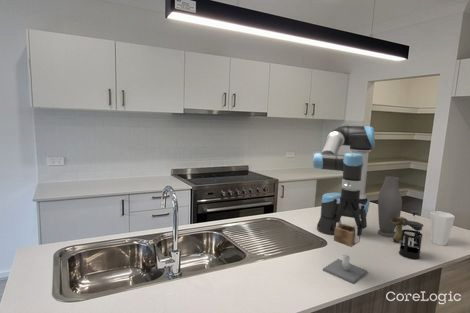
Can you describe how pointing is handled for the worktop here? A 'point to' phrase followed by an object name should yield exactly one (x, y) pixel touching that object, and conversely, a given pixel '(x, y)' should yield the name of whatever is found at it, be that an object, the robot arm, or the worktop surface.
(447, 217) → the cup
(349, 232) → the collar
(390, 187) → the vase
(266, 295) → the worktop surface
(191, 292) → the worktop surface
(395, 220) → the mushroom
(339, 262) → the grey plate with knob
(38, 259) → the worktop surface
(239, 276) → the worktop surface
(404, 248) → the french press
